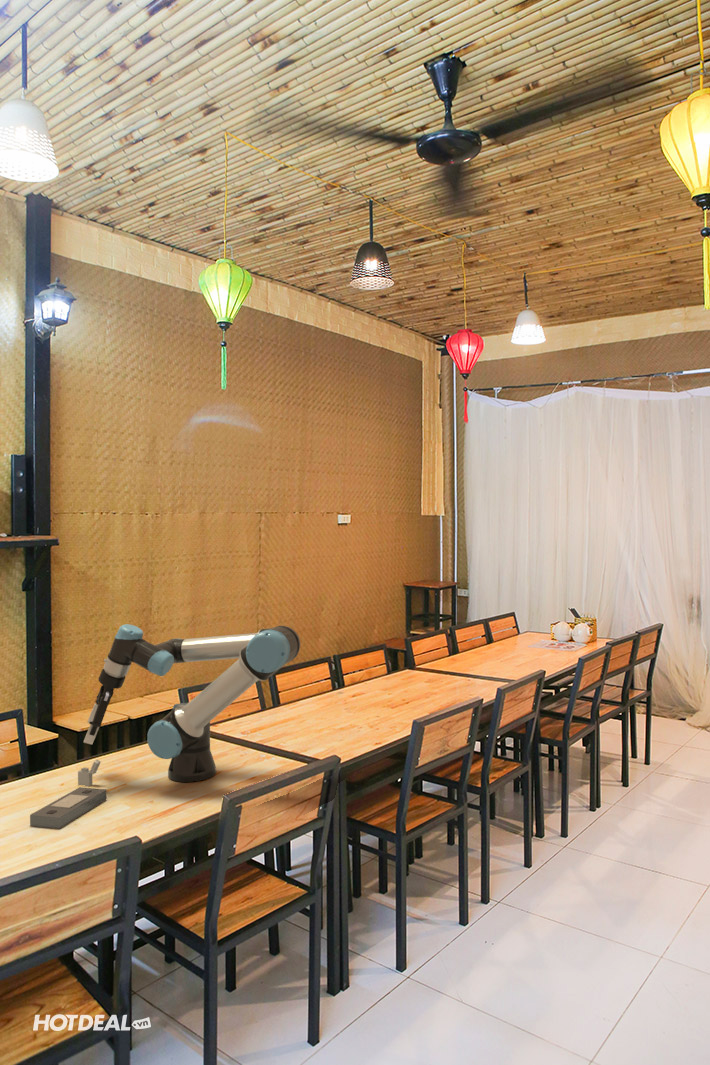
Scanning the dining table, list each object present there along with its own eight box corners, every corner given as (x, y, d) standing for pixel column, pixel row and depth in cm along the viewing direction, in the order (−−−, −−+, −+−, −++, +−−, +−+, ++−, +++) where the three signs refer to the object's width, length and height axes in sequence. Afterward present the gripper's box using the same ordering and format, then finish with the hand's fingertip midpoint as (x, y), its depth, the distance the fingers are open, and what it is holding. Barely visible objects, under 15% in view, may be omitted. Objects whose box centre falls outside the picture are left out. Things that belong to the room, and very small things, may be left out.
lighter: (77, 785, 231) (77, 759, 231) (81, 783, 233) (80, 758, 233) (98, 786, 230) (97, 761, 230) (101, 785, 231) (100, 759, 231)
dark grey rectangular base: (106, 799, 218) (106, 788, 218) (59, 828, 197) (59, 816, 197) (79, 797, 221) (79, 786, 221) (30, 825, 199) (30, 814, 199)
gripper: (105, 654, 242) (81, 712, 244) (99, 684, 218) (73, 748, 220) (127, 661, 244) (104, 718, 246) (124, 692, 221) (98, 755, 223)
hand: (89, 732), depth 233 cm, fingers open, 13 cm apart
